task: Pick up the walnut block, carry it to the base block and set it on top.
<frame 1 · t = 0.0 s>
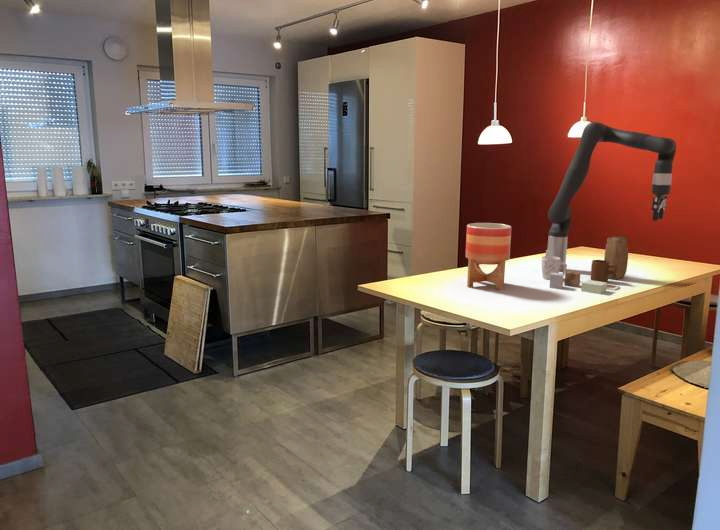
hand: (657, 219, 261), 29 cm above the table, fingers open, 8 cm apart
planter: (485, 285, 258), on the table
grey block: (556, 287, 256), on the table
base block: (593, 291, 249), on the table
mug 2: (552, 279, 273), on the table
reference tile: (609, 287, 256), on the table
mug: (603, 282, 268), on the table
walnut block: (571, 285, 259), on the table
brown tall piece: (614, 278, 277), on the table
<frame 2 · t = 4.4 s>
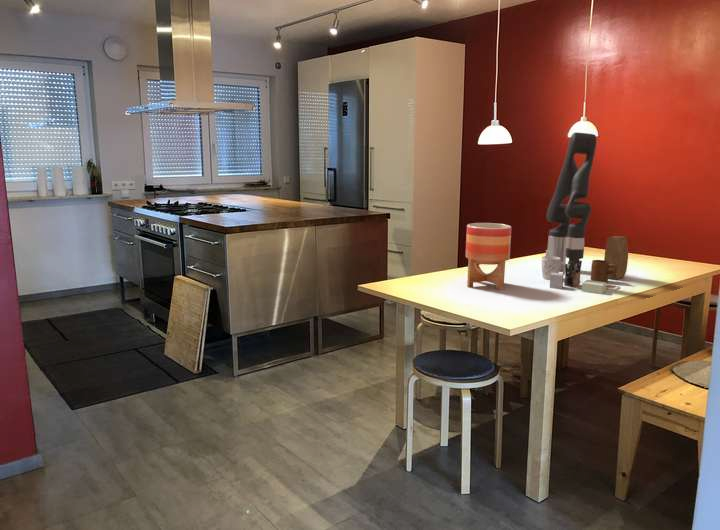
hand: (571, 284, 259), 0 cm above the table, fingers closed on walnut block, 5 cm apart
walnut block: (571, 285, 259), on the table, touching gripper
everything else where it was.
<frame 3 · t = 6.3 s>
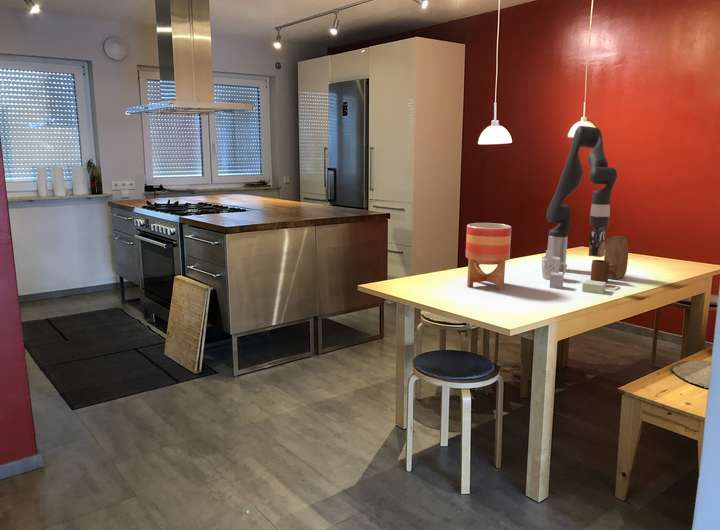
hand: (596, 254, 246), 16 cm above the table, fingers closed on walnut block, 5 cm apart
walnut block: (596, 255, 246), point 15 cm above the table, touching gripper
everything else where it was.
when the fingers open (6 cm above the table, at t = 8.6 s): walnut block drops 2 cm, point 4 cm above the table.
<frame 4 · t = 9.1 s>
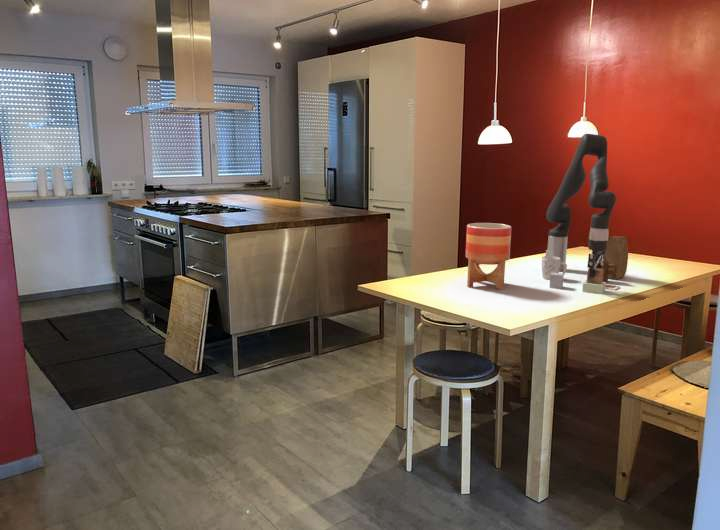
hand: (595, 276, 248), 7 cm above the table, fingers open, 8 cm apart
walnut block: (594, 282, 249), point 4 cm above the table
everything else where it was.
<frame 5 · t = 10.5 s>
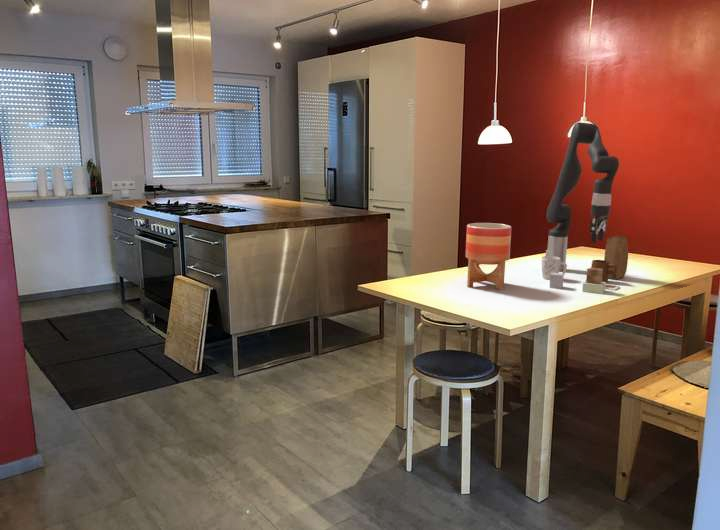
hand: (597, 241, 249), 21 cm above the table, fingers open, 8 cm apart
nothing on the table moved.
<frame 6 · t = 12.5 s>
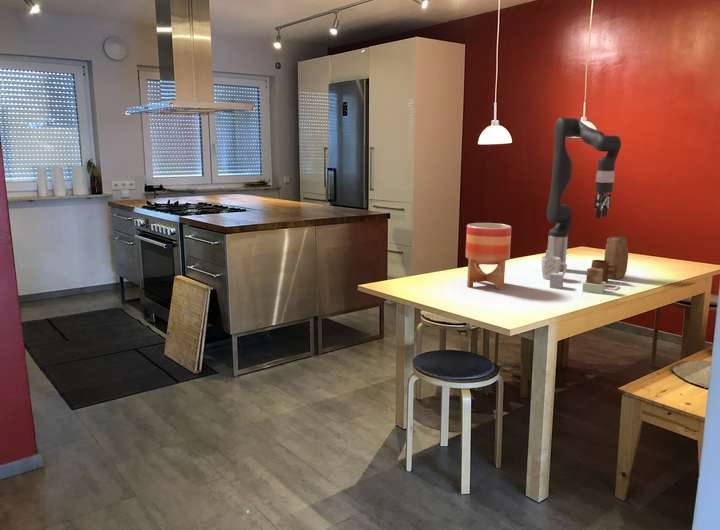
hand: (601, 217, 259), 30 cm above the table, fingers open, 8 cm apart
base block: (593, 291, 249), on the table, touching walnut block
walnut block: (594, 282, 249), point 4 cm above the table, touching base block
everything else where it was.
at the end: walnut block 0.0 cm off-centre on the base block, point 4.0 cm above the base block's base; walnut block tilted 0°; the gripper is holding nothing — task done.
